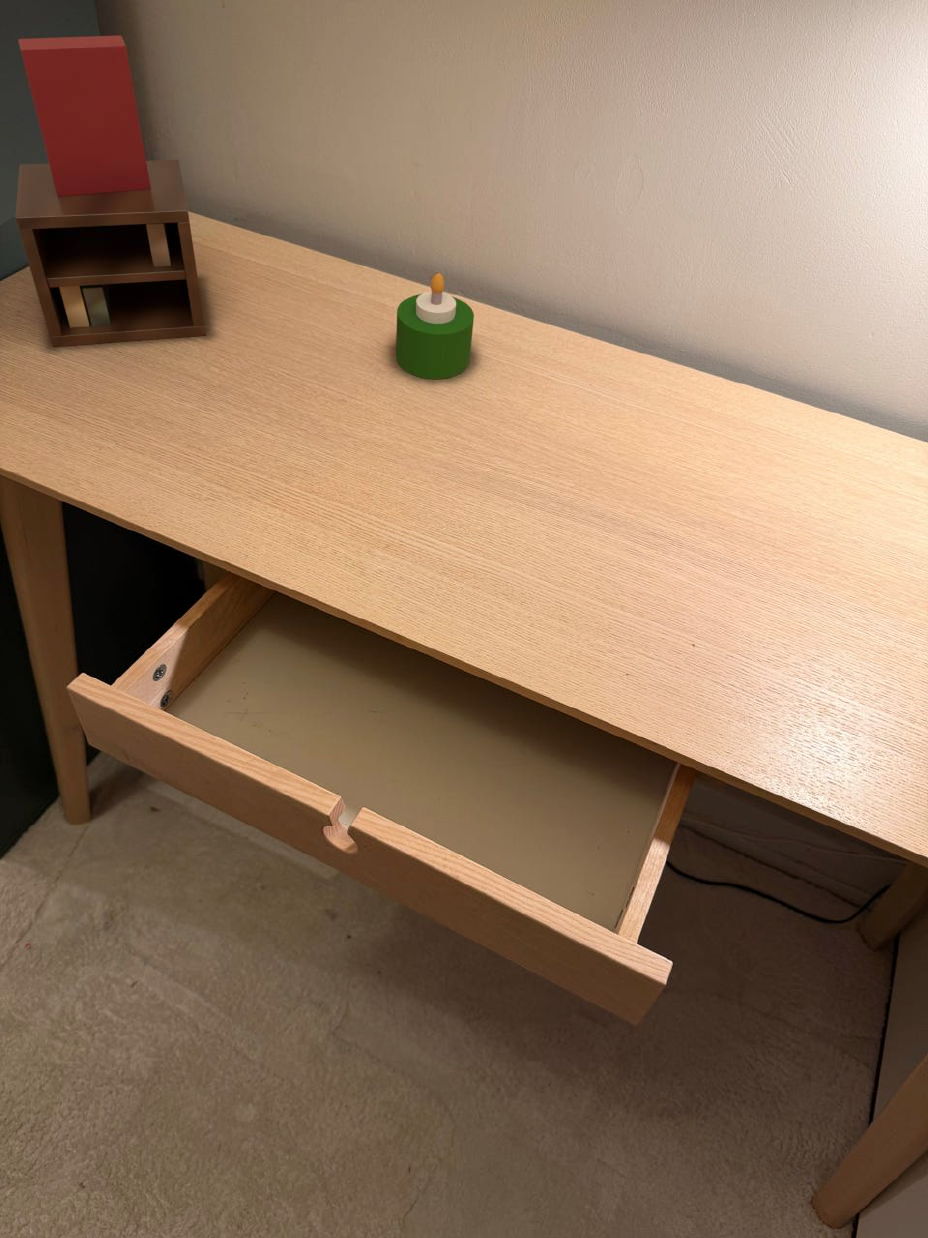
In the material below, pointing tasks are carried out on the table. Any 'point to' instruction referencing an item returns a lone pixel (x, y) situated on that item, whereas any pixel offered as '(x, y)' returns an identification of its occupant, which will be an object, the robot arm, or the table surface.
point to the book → (86, 113)
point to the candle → (434, 333)
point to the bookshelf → (111, 258)
